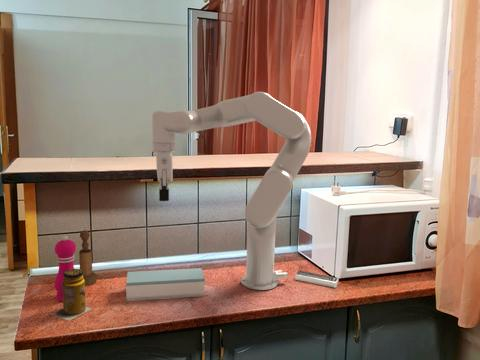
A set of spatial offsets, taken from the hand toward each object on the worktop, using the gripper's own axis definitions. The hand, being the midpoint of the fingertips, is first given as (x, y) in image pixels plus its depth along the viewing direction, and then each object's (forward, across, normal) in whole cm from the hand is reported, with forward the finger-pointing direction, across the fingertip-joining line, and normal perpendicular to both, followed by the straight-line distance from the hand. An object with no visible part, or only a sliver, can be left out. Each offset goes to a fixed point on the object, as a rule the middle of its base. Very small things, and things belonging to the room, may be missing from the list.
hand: (164, 200), depth 146 cm
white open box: (+27, -15, 0) cm, 31 cm away
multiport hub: (+28, -13, -52) cm, 61 cm away
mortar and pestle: (+27, -3, +26) cm, 38 cm away
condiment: (+27, -24, +27) cm, 45 cm away
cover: (+22, -15, 0) cm, 27 cm away
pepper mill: (+27, -14, +30) cm, 43 cm away
